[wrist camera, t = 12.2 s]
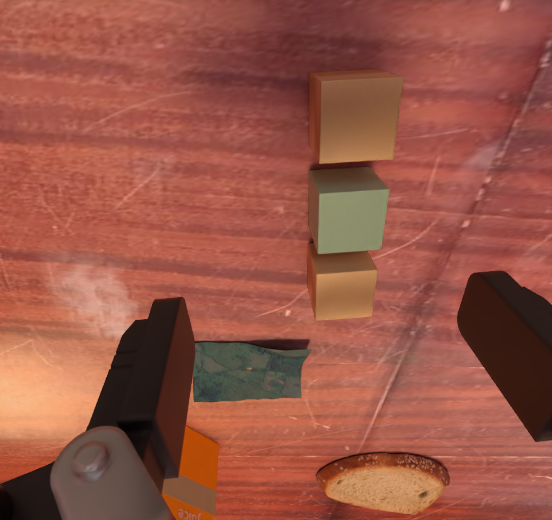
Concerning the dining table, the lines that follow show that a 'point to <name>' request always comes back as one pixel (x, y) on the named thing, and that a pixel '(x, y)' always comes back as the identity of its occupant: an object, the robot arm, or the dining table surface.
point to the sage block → (346, 209)
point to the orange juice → (194, 479)
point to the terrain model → (245, 372)
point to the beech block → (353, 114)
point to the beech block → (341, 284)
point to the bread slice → (385, 482)
